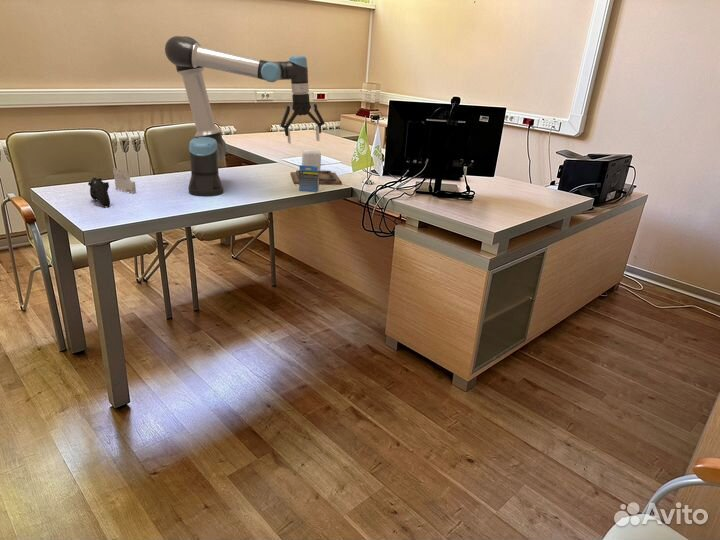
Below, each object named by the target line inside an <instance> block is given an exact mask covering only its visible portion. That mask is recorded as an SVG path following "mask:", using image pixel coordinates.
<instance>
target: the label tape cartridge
mask: <svg viewBox="0 0 720 540" xmlns="http://www.w3.org/2000/svg"><path fill="white" fill-rule="evenodd" d="M306 168H310V169H311V170H306ZM298 170H299V185H298V186H299V187H298V190H299V192H309V193H310V192H311V193H318V192H319V188H320V187H319V186H320V185H319V173H318V167H316V166H303V165H302V164H301V165H299V169H298Z"/></svg>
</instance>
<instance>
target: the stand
mask: <svg viewBox="0 0 720 540" xmlns="http://www.w3.org/2000/svg"><path fill="white" fill-rule="evenodd" d="M299 170H300V169H298V170H296V171H290V177H291V180H292V183H293V185H294V184H298V185H297V186H299ZM318 173H319V186H320V185H321V186H342V185H343V182H342V180H341V179H340V178H339V176H338V174H337V173H336V172H332V170H320V171H318Z"/></svg>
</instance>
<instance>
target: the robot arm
mask: <svg viewBox="0 0 720 540" xmlns="http://www.w3.org/2000/svg"><path fill="white" fill-rule="evenodd" d="M164 53H165V56H166V58H167V60H168V61H169V62H170V63H171V64H173V65H174V66H175V69H176V72H177V73H178V74H179V75H180V76H181V77H182V81H183V84H184V88H185V92H186V96H187V98H188V99H187V100H188V103H189V106H190V111H191V114H192V117H193V121H194V126H195V128H196V133H194V138H192V139H191V140H189V144H188V145H189V146H188V150H189V158H190V159H189V160H190V172H191V173H190V174H191V176H190V179H189V183H188V194H190V195H193V196H199V197H213V195H214V196H218V195H221V194H223V193H224V185H223V183H222V180H221V177H220V175H219V162H220V161H222V160H223V159H224V158H225V156H226V153H227V150H228V149H227V147H228V146H227V143H226V141H225V139H223V136H222V133H221V130H219V129H218V128H217V126H216V123H215V119H214V115H213V111H212V107H211V103H210V100H209V96H208V93H207V88H206V84H205V81H204V76H203V71H204V70H205V68H207V69H211V70H217V71H221V72H225V73H229V74H234V75H238V76H244V77H250V78H254V79H260V80H261V81H263V80H264V81H266V82H268V83H276V82H277V81H283V80H285V81H286V80H290V84H291V85H290V86H291V93H292V95H291V96H292V105H285V113H284V115H283V117H282V120H281V123H280V127H281V128H282V129H284V134H285V137H287V143H288V144H292V141H291V129H290V128H289V127H290V126H291V125H292V123H293V121H294V120H295V118H296V117H297V116H299V117H300V116H306V115H307V116H308V117H309V118H310V119H311V120H312V121H313V122H314V123H315V125H316V126H315V135H316V136H315V138H316V142H320V141H321V140H320V134H321V133H322V126H323V125H325V124H326V123H325V121H324V119H323V117H322V115H321V114H320V111H319V109H318V104H316V103H313V104H311V103H310V94H309V92H310V90H309V89H310V88H309V74H308V73H309V71H308V60H307V57H306V56H304V55H299V56H298V55H293V56H292V55H291V56H289V59H288V60H285V61H268V60H265V59H264V60H263V59H259V58H254V57H250V56H245V55H240V54H237V53H232V52H227V51H222V50H218V49H213V48H209V47H204V46H201V44H200V43H199V41H197V40H196V39H195V38H192V37H191V36H188V35H185V36H183V35H182V36H181V35H173V36H172V37H170V38H168V40H167V41H166V42H165V45H164ZM311 109H312V110H313V111H314V113H315V115H316V117H317V118H316V117H315V116H314V115H313V114H312V112H310V110H311ZM291 111H293V113H292V115H291V116H290V118H289V119H288V117H289V115H290V112H291Z"/></svg>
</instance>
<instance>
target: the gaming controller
mask: <svg viewBox="0 0 720 540" xmlns="http://www.w3.org/2000/svg"><path fill="white" fill-rule="evenodd" d="M109 183H110V182H108V181H107V182H105V181H104V182H103V180H102V178H101V177H100V178H97V177H92V179H91V180H90V181H88V183H87V184H88V186H90V187H89V194H90V197H91V199H92V200H94V199H98V200H97V202H99V203H100V204H101V206H103V207H105V206H108V207H109V206H110V204H111V198H110V196H109V193H108V192H109V191H108V190H109V188H110V184H109Z"/></svg>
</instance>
